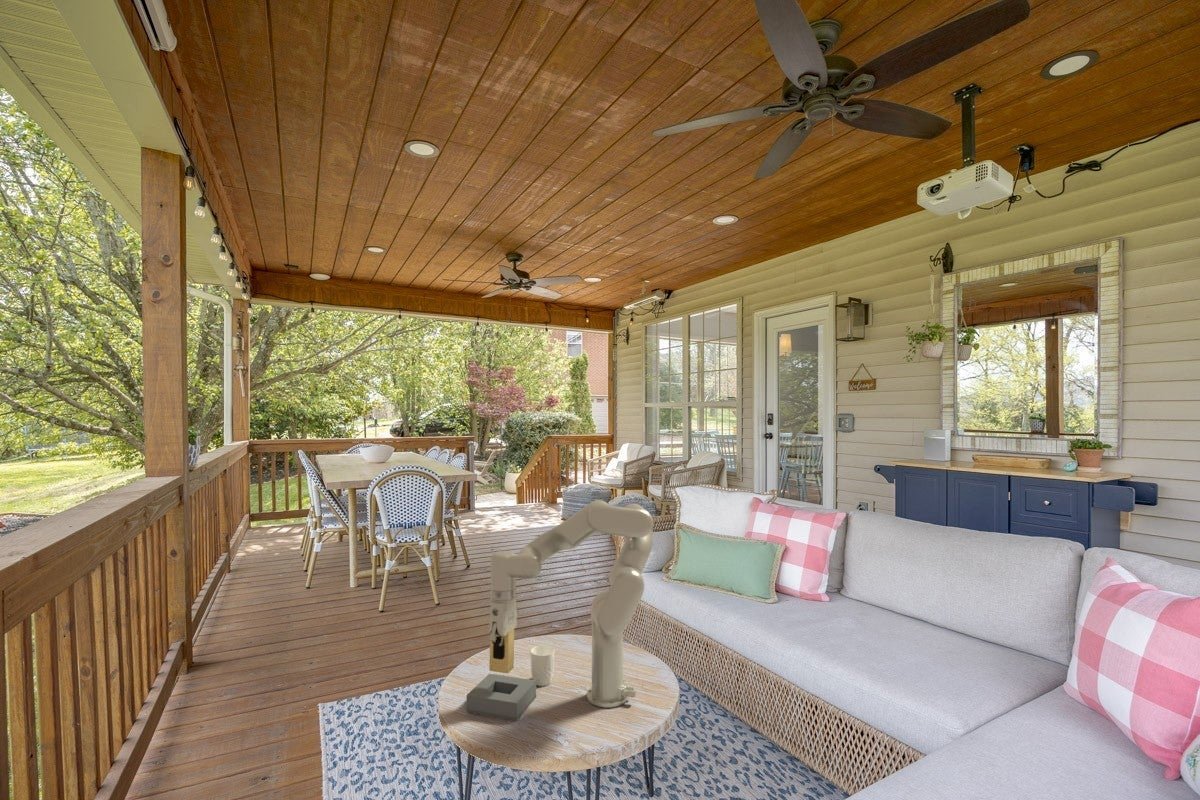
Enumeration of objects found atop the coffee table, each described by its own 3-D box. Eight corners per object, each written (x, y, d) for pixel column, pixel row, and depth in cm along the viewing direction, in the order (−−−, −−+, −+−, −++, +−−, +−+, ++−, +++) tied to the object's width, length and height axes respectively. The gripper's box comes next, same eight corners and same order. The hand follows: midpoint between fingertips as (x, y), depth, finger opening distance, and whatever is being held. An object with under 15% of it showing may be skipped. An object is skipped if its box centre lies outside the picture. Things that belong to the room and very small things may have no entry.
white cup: (527, 678, 181) (527, 647, 182) (550, 674, 185) (550, 643, 185) (534, 689, 174) (534, 657, 175) (557, 684, 177) (558, 653, 178)
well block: (536, 697, 169) (536, 680, 169) (516, 721, 156) (516, 703, 156) (489, 689, 174) (489, 673, 174) (466, 712, 160) (466, 694, 160)
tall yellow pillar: (513, 667, 166) (514, 627, 167) (507, 673, 162) (508, 632, 163) (495, 665, 168) (496, 625, 168) (489, 670, 164) (490, 629, 164)
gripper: (501, 603, 157) (500, 669, 156) (525, 586, 173) (524, 646, 172) (478, 601, 159) (476, 665, 158) (504, 584, 175) (503, 643, 174)
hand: (501, 654), depth 165 cm, fingers closed on tall yellow pillar, 4 cm apart
